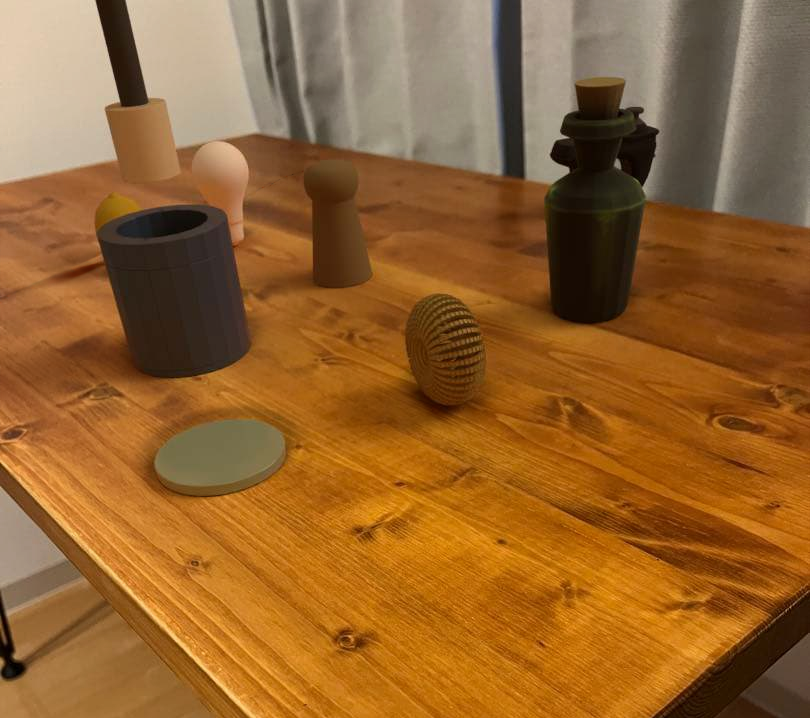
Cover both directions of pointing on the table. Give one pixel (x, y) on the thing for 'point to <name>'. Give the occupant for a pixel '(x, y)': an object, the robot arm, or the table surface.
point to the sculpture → (445, 349)
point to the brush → (135, 106)
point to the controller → (631, 154)
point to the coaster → (220, 457)
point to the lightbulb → (222, 181)
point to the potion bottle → (594, 210)
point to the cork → (336, 225)
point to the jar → (176, 289)
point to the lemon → (113, 209)
